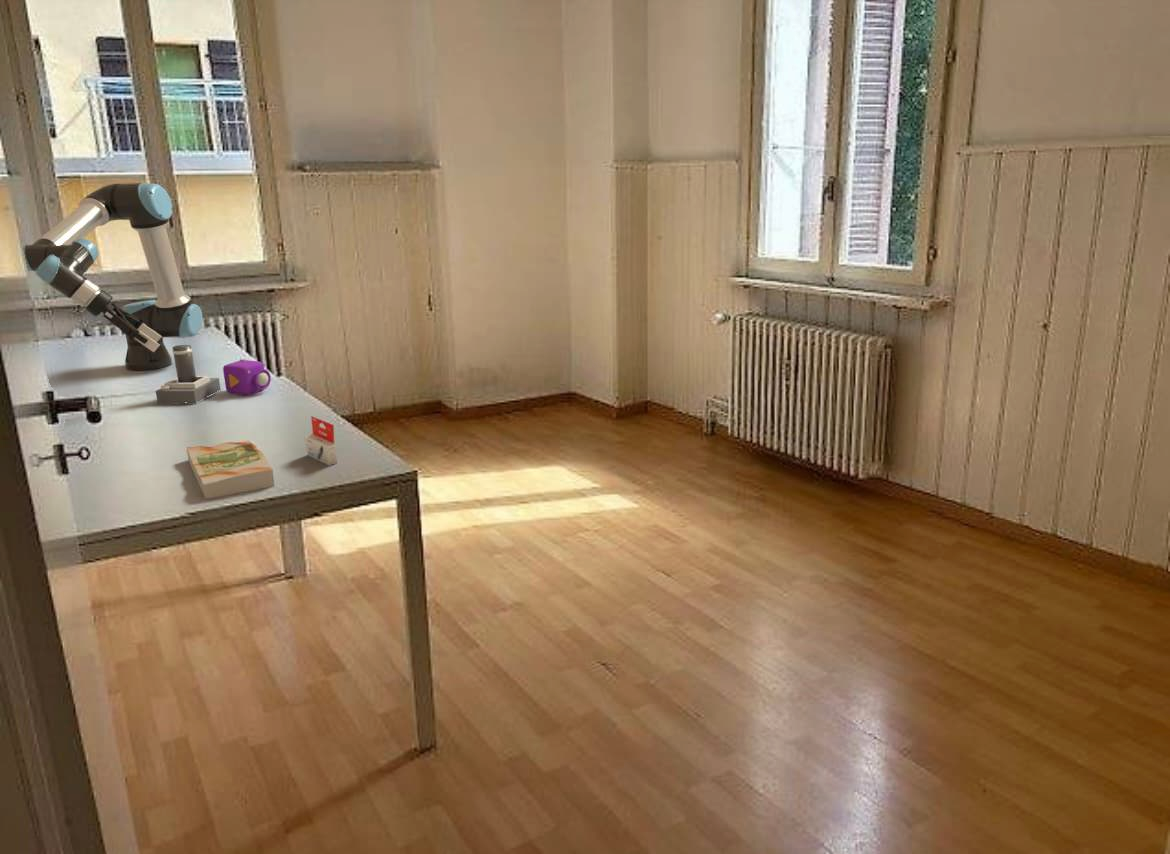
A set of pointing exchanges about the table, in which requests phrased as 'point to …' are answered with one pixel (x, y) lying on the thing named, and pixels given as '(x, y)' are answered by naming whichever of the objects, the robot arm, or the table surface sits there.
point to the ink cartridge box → (321, 442)
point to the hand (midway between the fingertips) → (157, 344)
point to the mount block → (187, 390)
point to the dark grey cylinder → (184, 364)
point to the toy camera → (246, 377)
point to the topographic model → (230, 468)
